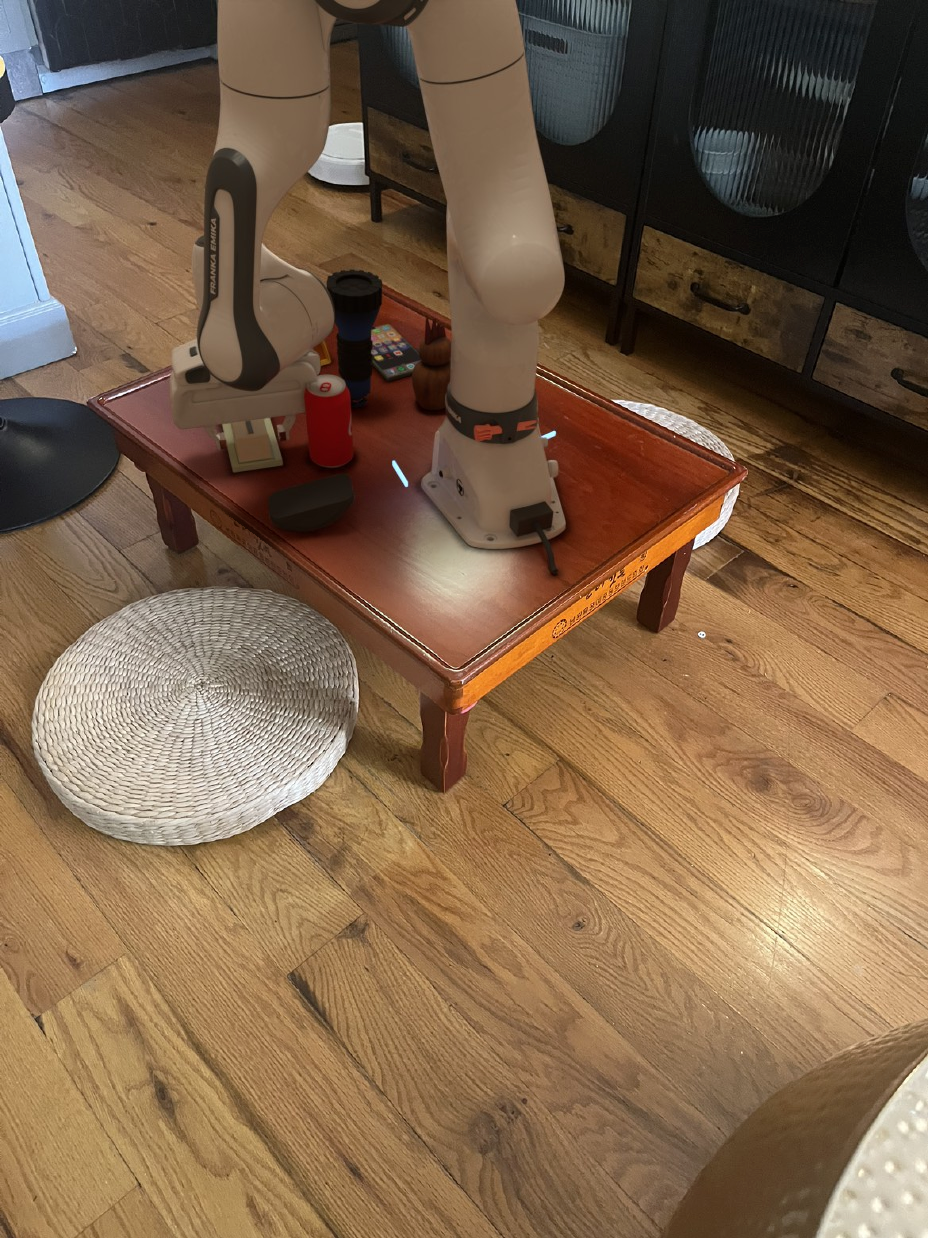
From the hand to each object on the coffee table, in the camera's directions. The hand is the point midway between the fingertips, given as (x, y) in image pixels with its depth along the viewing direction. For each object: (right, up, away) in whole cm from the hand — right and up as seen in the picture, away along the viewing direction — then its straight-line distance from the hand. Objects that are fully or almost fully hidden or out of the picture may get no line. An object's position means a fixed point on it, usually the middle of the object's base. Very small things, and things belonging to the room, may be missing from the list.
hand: (253, 442), depth 132 cm
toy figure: (+2, +16, +20) cm, 26 cm away
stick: (+24, +18, +23) cm, 37 cm away
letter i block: (0, -1, +1) cm, 1 cm away
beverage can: (+11, -2, +2) cm, 11 cm away
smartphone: (+17, +19, +23) cm, 35 cm away
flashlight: (+14, +8, +12) cm, 20 cm away
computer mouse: (+10, -9, -11) cm, 17 cm away
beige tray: (-2, +2, +6) cm, 6 cm away
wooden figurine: (+25, +8, +13) cm, 30 cm away
